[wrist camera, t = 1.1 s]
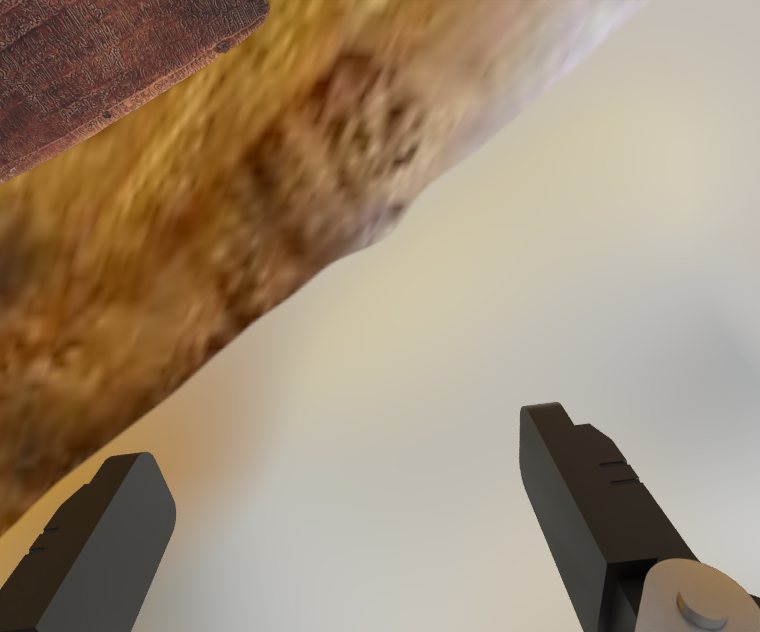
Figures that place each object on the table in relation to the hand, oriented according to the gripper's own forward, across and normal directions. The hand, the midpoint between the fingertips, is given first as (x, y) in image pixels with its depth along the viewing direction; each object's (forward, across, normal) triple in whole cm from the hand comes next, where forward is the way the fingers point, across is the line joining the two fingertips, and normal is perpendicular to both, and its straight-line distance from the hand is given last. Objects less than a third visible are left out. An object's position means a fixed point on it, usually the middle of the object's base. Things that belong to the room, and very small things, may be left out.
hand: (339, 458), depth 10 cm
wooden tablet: (+27, +17, -12) cm, 34 cm away
